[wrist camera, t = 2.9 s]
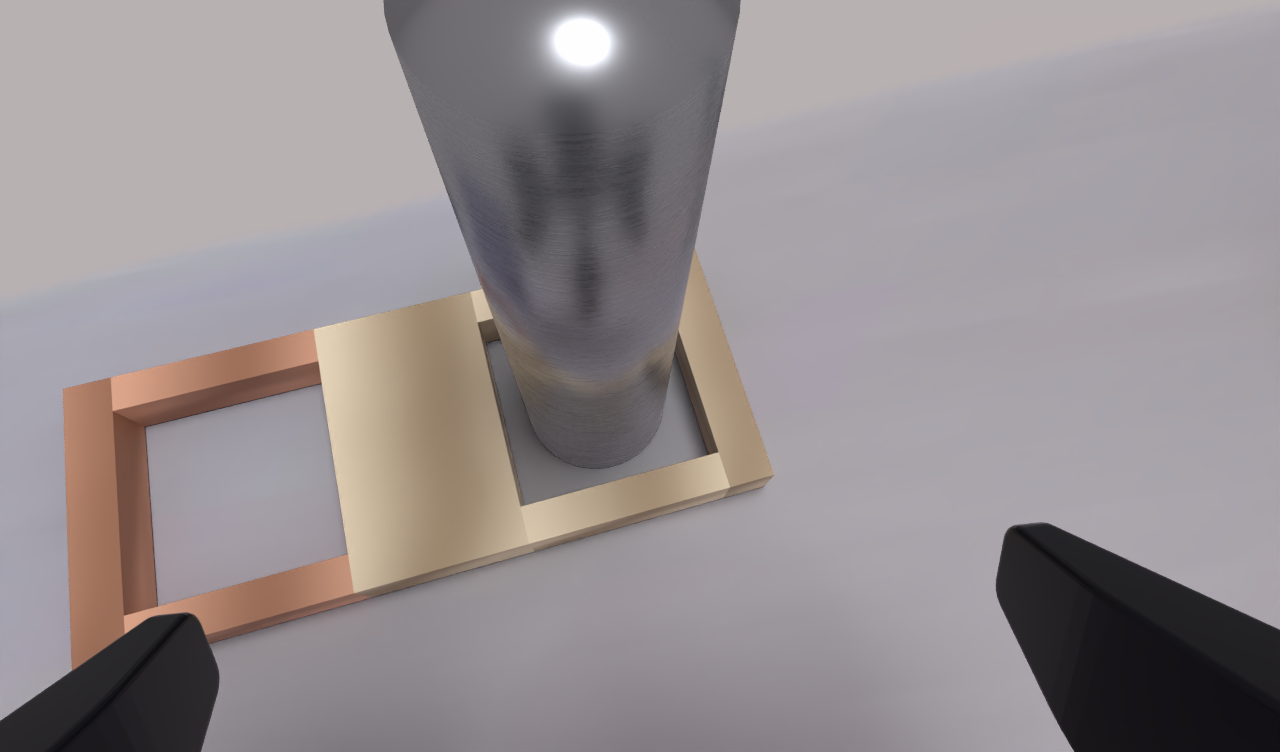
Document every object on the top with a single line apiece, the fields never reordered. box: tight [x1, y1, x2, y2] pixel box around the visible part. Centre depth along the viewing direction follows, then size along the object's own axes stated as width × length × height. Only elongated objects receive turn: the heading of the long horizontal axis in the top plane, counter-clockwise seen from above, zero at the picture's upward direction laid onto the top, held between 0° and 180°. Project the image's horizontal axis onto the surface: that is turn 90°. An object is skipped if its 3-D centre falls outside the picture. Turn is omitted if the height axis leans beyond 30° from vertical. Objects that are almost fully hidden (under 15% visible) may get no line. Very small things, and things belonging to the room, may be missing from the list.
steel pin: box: [384, 0, 740, 468], centre depth 16 cm, size 4×4×15 cm
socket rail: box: [63, 248, 774, 671], centre depth 21 cm, size 18×8×2 cm, turn 106°
